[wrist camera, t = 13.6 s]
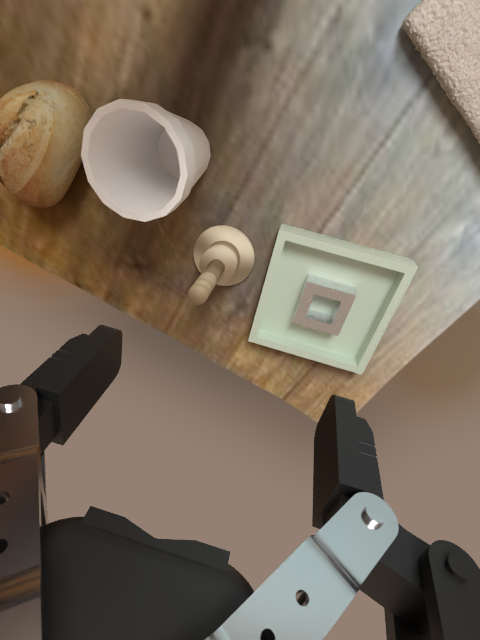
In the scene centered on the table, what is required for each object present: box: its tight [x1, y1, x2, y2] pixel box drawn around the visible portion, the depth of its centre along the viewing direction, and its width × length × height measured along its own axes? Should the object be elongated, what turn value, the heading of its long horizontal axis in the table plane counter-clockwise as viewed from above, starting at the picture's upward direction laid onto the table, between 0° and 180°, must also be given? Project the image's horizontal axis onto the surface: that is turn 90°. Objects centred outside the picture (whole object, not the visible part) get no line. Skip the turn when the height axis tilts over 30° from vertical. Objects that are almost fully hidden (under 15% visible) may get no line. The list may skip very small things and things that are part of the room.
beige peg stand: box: [188, 225, 255, 305], centre depth 41 cm, size 8×8×12 cm
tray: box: [248, 223, 418, 375], centre depth 45 cm, size 16×16×3 cm
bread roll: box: [0, 80, 91, 208], centre depth 40 cm, size 10×15×8 cm, turn 144°
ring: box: [293, 274, 356, 336], centre depth 45 cm, size 6×6×2 cm
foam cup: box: [81, 99, 211, 222], centre depth 35 cm, size 10×9×13 cm
